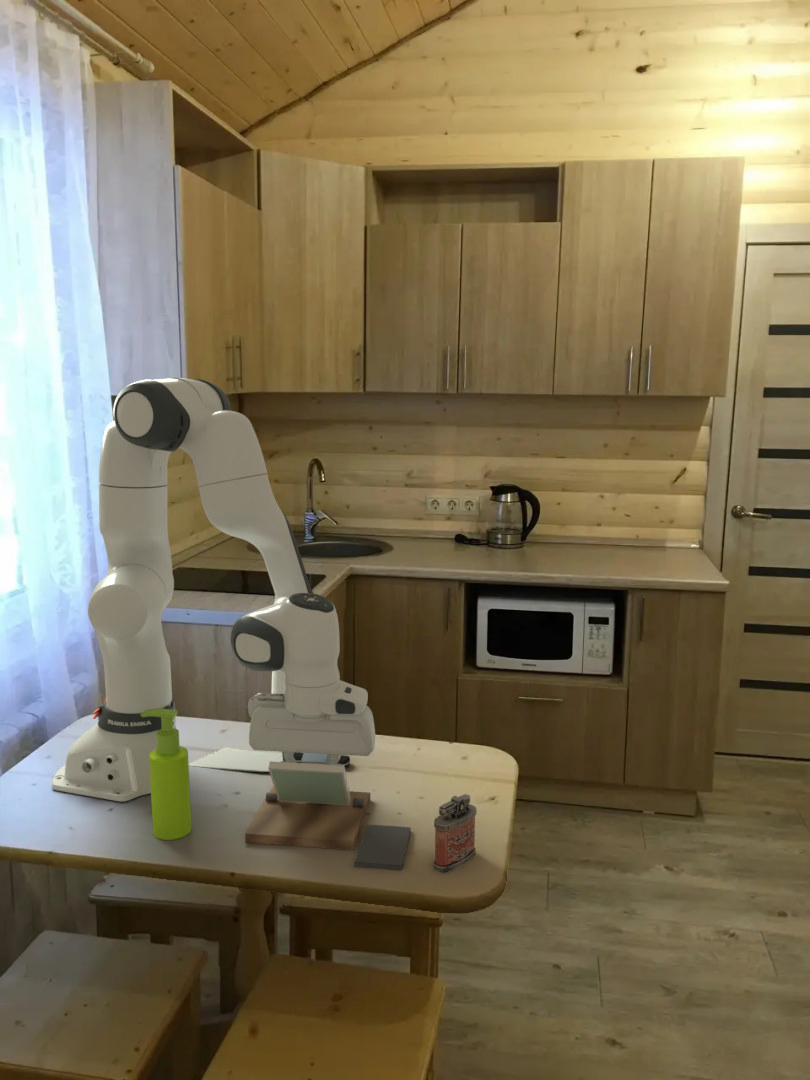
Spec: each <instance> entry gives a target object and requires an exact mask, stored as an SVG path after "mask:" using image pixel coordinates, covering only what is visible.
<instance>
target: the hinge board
mask: <svg viewBox="0 0 810 1080" xmlns="http://www.w3.org/2000/svg"><path fill="white" fill-rule="evenodd" d="M349 791H350V796H351V802H350V805H334V804H319V803H303V802H288V801H278V798H277V795H276V791H275V788H274V785H273V786H272V787H271V789H270V790H269V792H266V794H265V799H264V801H263V802H262V804H261V806H260V807H259V809H258V810H257V813H256V814H255V816H254V818H253V819H252V821H251V822H250V825H249V826H248V827H247V829H246V831H245V833H244V842H245V843H247V844H260V845H261V844H263V845H278V846H279V845H280V846H290V847H291V846H293V847H307V848H318V849H319V848H320V849H321V848H322V849H336V850H349V851H354V850H355V846H356V844H357V841H358V839H359V835H360V832H361V829H362V826H363V824H364V822H365V817H366V815H367V811H368V808H369V806H370V803H371V792H369V791H368V792H367V791H366V792H365V791H354V790H353V791H351V790H349Z"/></svg>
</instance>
